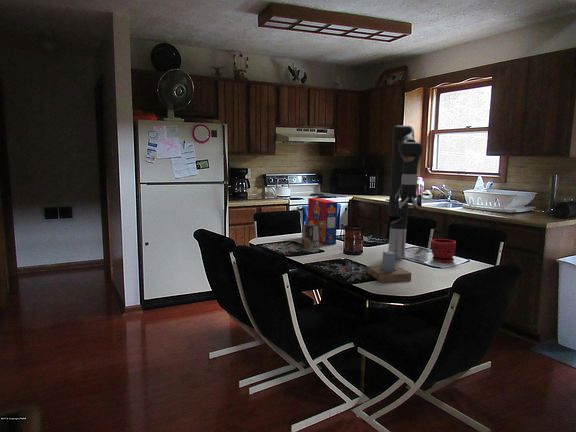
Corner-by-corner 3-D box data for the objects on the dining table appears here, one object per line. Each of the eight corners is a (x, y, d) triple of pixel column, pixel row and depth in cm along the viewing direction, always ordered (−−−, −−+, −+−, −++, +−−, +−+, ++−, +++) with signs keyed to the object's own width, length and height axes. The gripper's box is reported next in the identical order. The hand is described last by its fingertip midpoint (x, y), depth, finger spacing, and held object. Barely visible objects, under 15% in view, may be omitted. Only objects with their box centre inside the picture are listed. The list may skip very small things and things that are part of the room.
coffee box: (319, 251, 256) (320, 225, 253) (312, 252, 251) (313, 226, 249) (307, 248, 262) (308, 223, 259) (301, 250, 257) (301, 224, 255)
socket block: (365, 272, 211) (366, 266, 211) (394, 270, 215) (394, 264, 215) (380, 282, 196) (381, 275, 195) (411, 280, 200) (411, 273, 200)
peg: (381, 275, 207) (382, 251, 205) (389, 274, 208) (391, 251, 207) (386, 277, 203) (387, 253, 201) (394, 277, 204) (395, 253, 202)
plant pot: (457, 260, 238) (458, 240, 236) (451, 265, 227) (453, 244, 226) (433, 257, 245) (435, 237, 244) (427, 261, 235) (428, 240, 233)
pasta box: (307, 236, 299) (308, 198, 295) (317, 236, 302) (318, 197, 298) (325, 244, 273) (326, 202, 269) (335, 244, 276) (337, 202, 272)
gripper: (417, 182, 212) (415, 213, 215) (392, 182, 209) (390, 214, 212) (426, 183, 205) (423, 216, 208) (399, 184, 202) (397, 217, 205)
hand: (406, 215), depth 210 cm, fingers open, 8 cm apart
